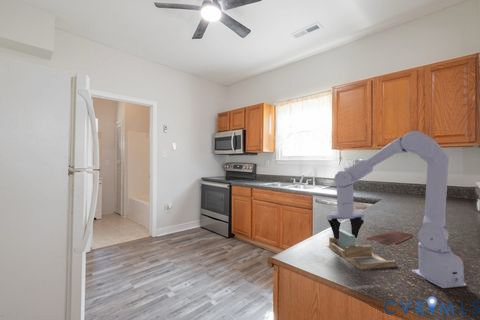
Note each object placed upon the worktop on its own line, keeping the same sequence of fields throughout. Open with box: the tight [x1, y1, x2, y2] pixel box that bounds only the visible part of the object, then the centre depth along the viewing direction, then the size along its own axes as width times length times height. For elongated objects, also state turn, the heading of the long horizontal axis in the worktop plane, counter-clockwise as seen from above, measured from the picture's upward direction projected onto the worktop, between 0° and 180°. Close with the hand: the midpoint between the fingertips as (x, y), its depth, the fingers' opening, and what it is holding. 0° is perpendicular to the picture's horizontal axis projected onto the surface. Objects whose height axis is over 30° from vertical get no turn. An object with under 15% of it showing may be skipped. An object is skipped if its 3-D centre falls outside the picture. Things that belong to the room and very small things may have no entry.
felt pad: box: [354, 257, 380, 263], centre depth 74 cm, size 6×8×1 cm
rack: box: [326, 236, 398, 270], centre depth 80 cm, size 20×13×4 cm, turn 9°
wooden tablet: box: [366, 231, 414, 246], centre depth 99 cm, size 26×2×10 cm
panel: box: [337, 228, 356, 251], centre depth 84 cm, size 8×2×7 cm, turn 9°
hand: (345, 237), depth 84 cm, fingers open, 7 cm apart
